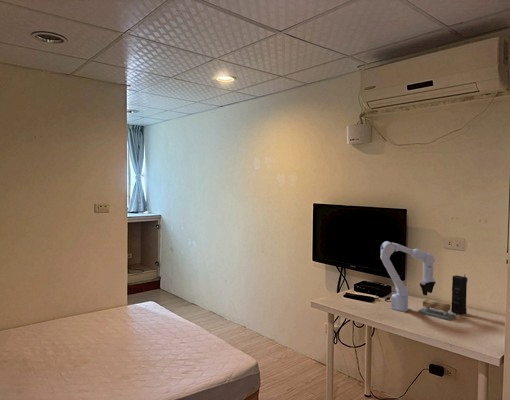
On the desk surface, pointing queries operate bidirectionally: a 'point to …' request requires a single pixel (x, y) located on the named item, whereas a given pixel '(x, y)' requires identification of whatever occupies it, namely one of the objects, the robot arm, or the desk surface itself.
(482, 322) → the desk surface
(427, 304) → the shelf board
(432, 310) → the peg stand
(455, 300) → the portable radio
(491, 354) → the desk surface
